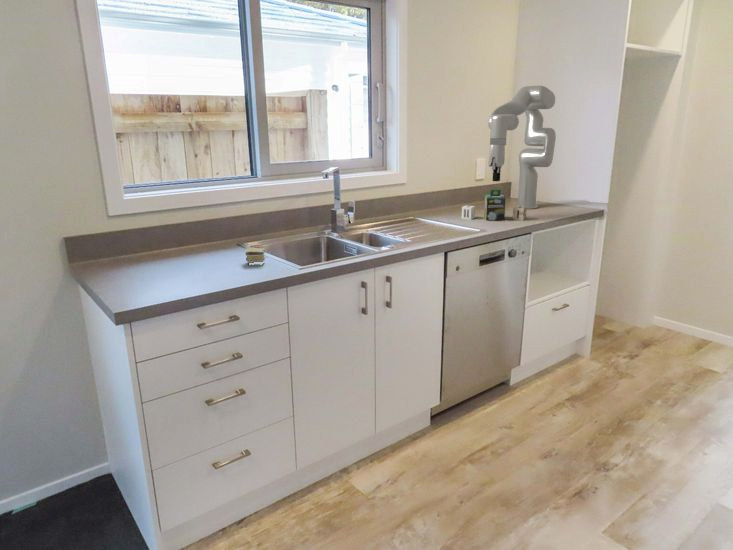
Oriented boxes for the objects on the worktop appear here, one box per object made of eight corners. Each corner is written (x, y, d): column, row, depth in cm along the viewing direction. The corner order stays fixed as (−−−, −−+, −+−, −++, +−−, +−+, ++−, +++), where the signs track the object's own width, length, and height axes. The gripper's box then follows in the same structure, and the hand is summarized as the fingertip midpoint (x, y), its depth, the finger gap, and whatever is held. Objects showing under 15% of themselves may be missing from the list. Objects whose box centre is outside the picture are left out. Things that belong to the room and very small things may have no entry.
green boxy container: (502, 217, 260) (503, 187, 256) (505, 220, 252) (506, 190, 247) (483, 217, 261) (484, 187, 257) (485, 220, 252) (487, 190, 248)
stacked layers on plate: (271, 261, 189) (270, 246, 188) (267, 267, 181) (265, 252, 179) (244, 261, 189) (242, 247, 188) (238, 268, 181) (237, 253, 179)
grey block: (465, 217, 263) (465, 205, 261) (474, 218, 260) (475, 206, 258) (461, 218, 259) (461, 206, 257) (470, 219, 256) (471, 207, 254)
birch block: (515, 218, 258) (516, 205, 256) (525, 218, 255) (526, 206, 254) (512, 219, 254) (513, 207, 252) (522, 220, 251) (523, 208, 249)
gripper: (495, 141, 254) (494, 179, 259) (484, 143, 242) (483, 182, 247) (510, 141, 250) (508, 179, 255) (500, 143, 238) (498, 183, 243)
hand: (496, 181), depth 251 cm, fingers closed
